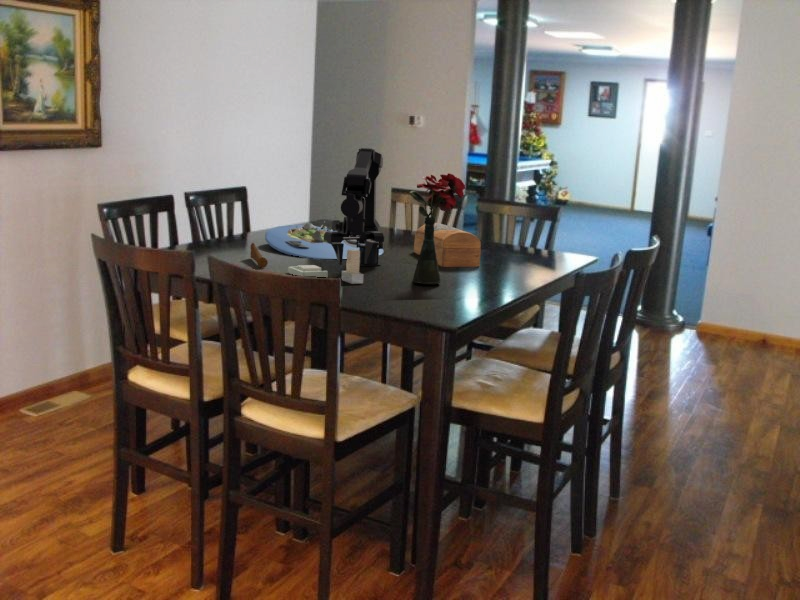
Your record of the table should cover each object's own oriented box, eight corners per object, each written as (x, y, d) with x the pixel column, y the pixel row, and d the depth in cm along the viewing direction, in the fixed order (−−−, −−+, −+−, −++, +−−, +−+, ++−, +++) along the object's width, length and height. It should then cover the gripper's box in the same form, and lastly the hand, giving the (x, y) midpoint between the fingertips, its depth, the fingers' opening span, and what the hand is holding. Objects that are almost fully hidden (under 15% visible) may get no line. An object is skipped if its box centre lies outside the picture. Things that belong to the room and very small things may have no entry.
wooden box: (410, 257, 320) (412, 221, 317) (449, 257, 325) (451, 222, 323) (437, 269, 292) (440, 231, 290) (480, 269, 298) (482, 232, 295)
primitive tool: (251, 257, 289) (242, 256, 287) (253, 242, 287) (243, 241, 286) (267, 268, 272) (257, 268, 270) (269, 252, 271) (259, 252, 269)
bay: (313, 271, 271) (313, 265, 270) (327, 277, 261) (327, 271, 261) (287, 272, 266) (288, 266, 266) (301, 278, 257) (302, 272, 256)
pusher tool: (352, 279, 261) (354, 248, 259) (363, 283, 255) (364, 251, 253) (341, 280, 259) (342, 248, 257) (351, 283, 253) (353, 251, 251)
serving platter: (400, 270, 311) (404, 239, 307) (298, 276, 287) (302, 242, 283) (342, 238, 345) (345, 209, 341) (247, 241, 321) (249, 210, 317)
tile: (314, 274, 268) (314, 265, 268) (321, 277, 263) (321, 268, 263) (297, 274, 266) (297, 265, 265) (303, 277, 260) (303, 268, 260)
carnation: (395, 277, 270) (402, 170, 263) (447, 277, 276) (454, 172, 269) (412, 285, 255) (419, 172, 248) (466, 285, 261) (474, 175, 255)
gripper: (369, 211, 264) (366, 259, 267) (316, 211, 255) (315, 261, 258) (386, 215, 255) (383, 264, 258) (332, 215, 245) (330, 266, 248)
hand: (353, 264), depth 256 cm, fingers open, 9 cm apart
